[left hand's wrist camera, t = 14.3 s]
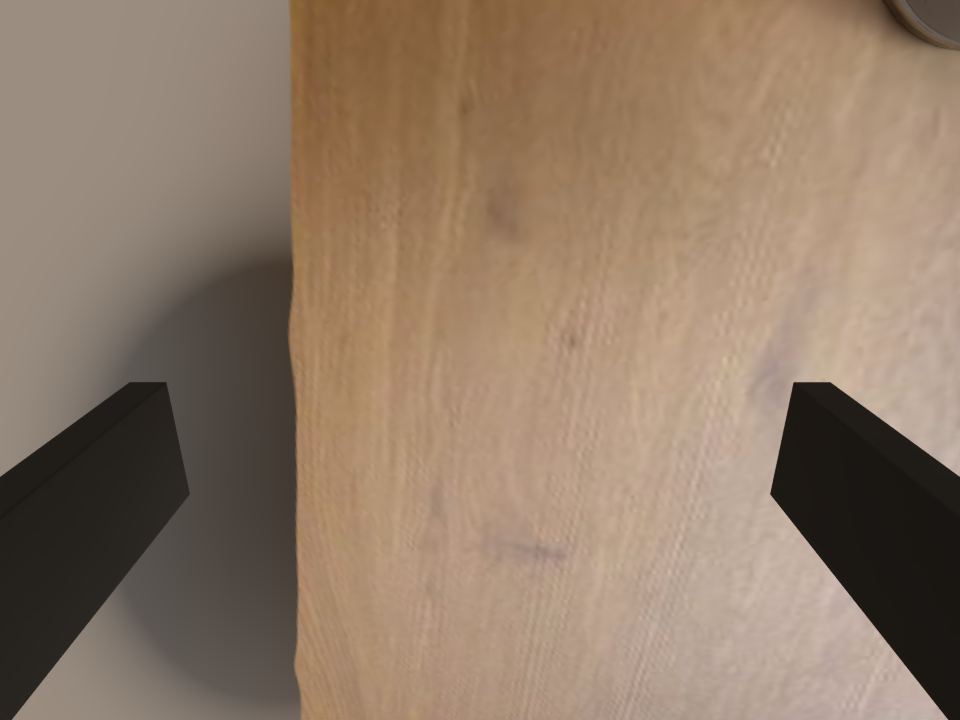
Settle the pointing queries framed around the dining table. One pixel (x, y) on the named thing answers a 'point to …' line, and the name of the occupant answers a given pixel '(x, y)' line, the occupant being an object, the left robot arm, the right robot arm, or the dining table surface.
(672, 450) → the dining table surface
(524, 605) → the dining table surface
